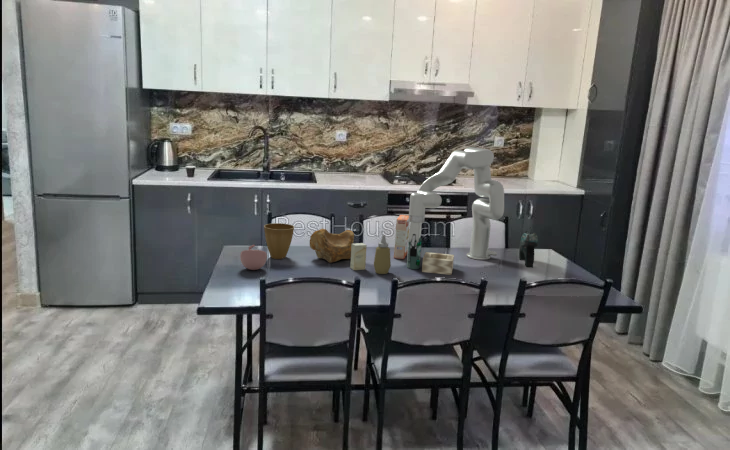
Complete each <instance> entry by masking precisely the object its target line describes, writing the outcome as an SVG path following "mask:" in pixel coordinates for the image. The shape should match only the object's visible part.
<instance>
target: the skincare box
mask: <svg viewBox="0 0 730 450" xmlns="http://www.w3.org/2000/svg"><path fill="white" fill-rule="evenodd" d="M367 246H368V245H367V244H366V243H364V242H360V243H359V242H358V243H357V242H356V243H354V244H352V245H351V258H350V266H349V267H350V269H351V270H353V271H361V270H366V261H367Z"/></svg>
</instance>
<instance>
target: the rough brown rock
mask: <svg viewBox="0 0 730 450" xmlns="http://www.w3.org/2000/svg"><path fill="white" fill-rule="evenodd" d="M354 239H355V232H353V231H352V230H348V229H347V230H344V231H342V232H341V233H331V232H329V231H328V230H327V229H326V228H320V229H318V230H315V231H313V233H312V234H311V235H310V238H309V247H310V249H312V250H313V251H314V252H315V255H316V257H317V258H318V259H323V260H326V262H328V263H329V264H332V263H335V262H338V261H340V260H351V245H352V244H355V243H354V242H355V240H354Z"/></svg>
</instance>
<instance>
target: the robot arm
mask: <svg viewBox="0 0 730 450" xmlns="http://www.w3.org/2000/svg"><path fill="white" fill-rule="evenodd" d="M494 160H495V155H494V152H493V151H492V150H490V149H488V148H481V147H474V146H473V147H471V146H470V147H467V148H465V149H464V150H458V149H457V150H454V151H453V152H451V154H450V155H449V156H448V158H447V159H446V161H445V163H444V164H443V165H442V166H441V168H440V169H439V171H438V172H436V173H435V174H433V175H431V176H429V178H427V179H426V180H424V181H423V182H422V184H421V185H420V186H419V188H418V189H417V191H416V192H412V193H411V194H410V196H409V208H408V209H409V210H408V215H409V222H410V227H409V239H408V242H411V248H410V256H413V257H416V256H417V249H416V248H417V243H418V242H419V239H420V237H421V236H422V235H421V234H422V224H424V223H425V215H426V209H437V208H439V207H440V206H441V205H442V201H443V199H442V197H441V195H440V194H438V193H436V192H433V191H435V190H436V189H437V188H439V187H443V186H447V185H449V184H453V182H454V181H455V179H456V178H457V177H458V175H459V173H460V172H461V171H462V170H463V169H464V170H473V182H474V183H473V185H474V193H475V195H476V196H478V197H481V198H477V199H475V200H474V201H473V202H472V205H471V211H472V212H471V213H472V222H471V223H472V224H471V225H472V226H471V235H470V245H469V246H470V247H469V248H470V249H469V252H467V253H466V257H467V258H470V259H473V260H480V261H481V260H482V261H483V260H484V261H485V260H490V259H491V256H495V257H496V256H497V254H498V253H497V251H494V250H492V251H491V250H490V248H489V246H490V244H489V243H490V235H491V221H490V220H493V221H494V220H495V221H497V220H500V219H501V218H503V215H504V213H505V188H504V185H503V184H502V183H501V182H500V181H499V180H496V179H495V180H494V179H492V175H491V174H492V171H491V167H490V165H492V164H493V163H494ZM415 237H416V238H415ZM415 241H416V242H415ZM415 244H416V245H415Z"/></svg>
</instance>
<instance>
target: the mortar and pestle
mask: <svg viewBox="0 0 730 450" xmlns="http://www.w3.org/2000/svg"><path fill="white" fill-rule="evenodd" d="M255 246H256V245H255V244H252V245H250V246H248V249H245V250H242V251H241V252H240V255H239V259H240V262H241V265H242V266H243V267H245V268H246V269H248V270H251V271H256V270H260V269H261V268H262V267H264V266H265V264H266V262H267V260H268V254H267V252H266V251H264V250H260V249H253V248H255Z"/></svg>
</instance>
